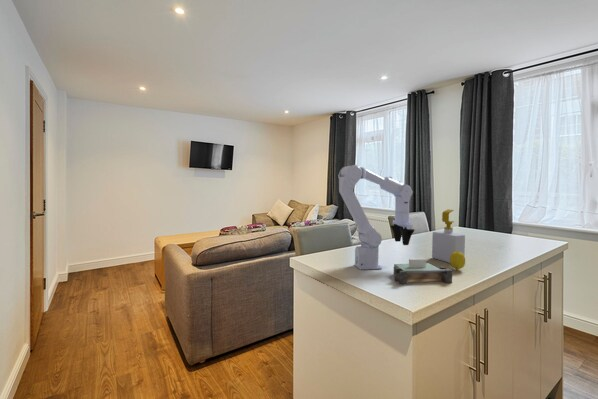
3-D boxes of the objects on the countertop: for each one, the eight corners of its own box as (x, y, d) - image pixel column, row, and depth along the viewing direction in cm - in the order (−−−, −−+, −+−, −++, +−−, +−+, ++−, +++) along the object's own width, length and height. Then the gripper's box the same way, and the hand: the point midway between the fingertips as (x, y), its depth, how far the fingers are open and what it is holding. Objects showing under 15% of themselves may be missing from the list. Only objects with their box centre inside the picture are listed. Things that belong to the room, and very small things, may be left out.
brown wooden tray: (400, 284, 98) (400, 272, 97) (387, 274, 109) (387, 263, 109) (451, 282, 99) (452, 270, 99) (433, 272, 111) (434, 261, 110)
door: (401, 274, 99) (401, 263, 99) (390, 266, 109) (390, 256, 109) (447, 273, 101) (447, 262, 101) (432, 265, 110) (432, 255, 110)
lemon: (446, 268, 117) (447, 249, 116) (459, 267, 117) (459, 249, 117) (455, 272, 111) (455, 252, 111) (468, 272, 112) (468, 252, 111)
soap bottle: (464, 263, 124) (466, 210, 123) (454, 264, 122) (455, 211, 120) (441, 256, 135) (442, 208, 134) (431, 258, 133) (432, 208, 132)
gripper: (419, 213, 114) (419, 246, 115) (403, 210, 129) (402, 239, 129) (403, 213, 114) (402, 247, 114) (388, 210, 128) (388, 239, 129)
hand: (401, 243), depth 122 cm, fingers open, 7 cm apart
